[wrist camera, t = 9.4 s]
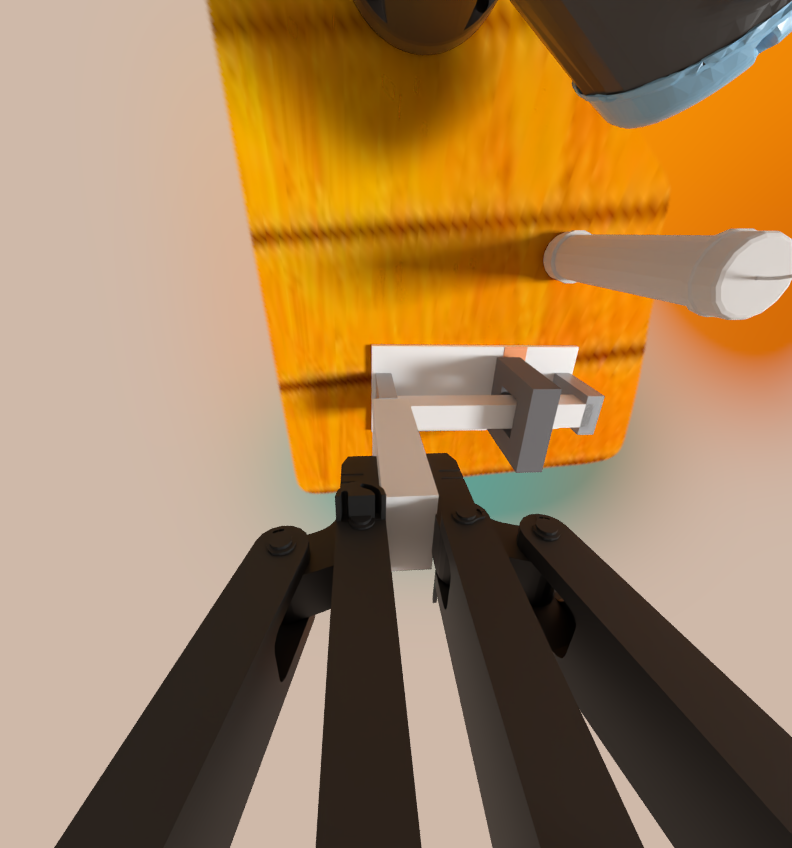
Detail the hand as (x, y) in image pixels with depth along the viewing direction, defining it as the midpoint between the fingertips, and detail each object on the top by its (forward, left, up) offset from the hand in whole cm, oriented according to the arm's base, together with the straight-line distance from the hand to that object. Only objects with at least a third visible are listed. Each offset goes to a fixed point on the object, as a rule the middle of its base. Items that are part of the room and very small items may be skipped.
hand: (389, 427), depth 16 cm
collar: (+11, +18, -30) cm, 37 cm away
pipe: (-6, +23, -33) cm, 40 cm away
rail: (+11, +14, -32) cm, 37 cm away
